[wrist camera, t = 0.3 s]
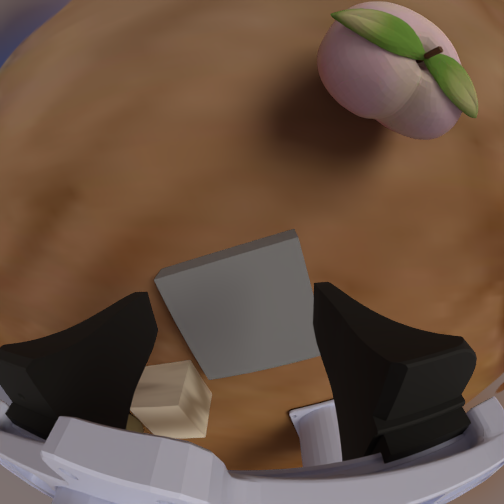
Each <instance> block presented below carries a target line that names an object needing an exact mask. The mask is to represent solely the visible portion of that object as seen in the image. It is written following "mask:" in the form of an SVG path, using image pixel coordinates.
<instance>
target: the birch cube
mask: <svg viewBox="0 0 504 504" xmlns="http://www.w3.org/2000/svg"><path fill="white" fill-rule="evenodd" d="M211 397H212V393H211V392H210V390H209V388H208V387H207V385H206V384H205V382H204V381H203V379H202V378H201V376H200V374H199V373H198V371H197V370H196V368H195V366H194V365H193V363H192V362H191V360H186V361H180V362H173V363H166V364H159V365H152V366H145V369H144V371H143V373H142V375H141V378H140V380H139V382H138V385H137V387H136V390H135V392H134V396H133V400H132V403H131V407H130V410H131V411H132V413H133V414H134V415H135V416H136V417H137V418H138V419H139V420H140V421H141V422H142V423H143V424H144V425H145V426H146V427H147V428H148V429H149V430H150V431H151V432H152V433H153V434H154V435H160V436H166V437H171V438H201V437H205V436H206V430H207V423H208V417H209V410H210V404H211Z"/></svg>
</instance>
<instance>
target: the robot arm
mask: <svg viewBox="0 0 504 504" xmlns="http://www.w3.org/2000/svg"><path fill="white" fill-rule="evenodd" d="M313 328H314V333H315V338H316V343H317V346H318V349H319V352H320V355H321V358H322V361H323V363H324V366H325V369H326V372H327V375H328V378H329V381H330V385H331V388H332V393H333V398H334V399H333V400H330V401H326V402H323V403H319V404H315V405H311V406H307V407H303V408H298V409H294V410H291V411H290V412H289V415H290V417H291V420H292V422H293V424H294V427H295V429H296V431H297V433H298V436H299V438H300V446H301V454H302V463H303V467H301V468H291V469H277V470H248V471H241V470H227V469H226V466H225V464H224V463H223V462H222V461H221V460H220V459H219V458H218V457H216V456H215V455H214V454H213V453H212V452H211V451H210V450H208V449H205V448H203V447H201V446H198V445H196V444H194V443H191V442H189V441H184V440H179V439H175V438H171V437H166V436H160V435H153V434H147V433H140V432H135V431H130V430H126V426H127V421H128V416H129V412H130V407H131V403H132V400H133V396H134V392H135V389H136V387H137V384H138V382H139V379H140V377H141V375H142V372H143V370H144V368H145V366H146V363H147V361H148V359H149V356H150V354H151V352H152V349H153V347H154V343H155V340H156V336H157V332H158V328H157V324H156V321H155V318H154V314H153V311H152V307H151V304H150V300H149V296H148V292H135V293H132V294H130V295H128V296H126V297H124V298H123V299H121V300H119V301H118V302H116V303H114V304H113V305H111V306H109V307H108V308H106V309H104V310H103V311H101V312H99V313H97V314H96V315H94V316H92V317H90V318H89V319H87V320H85V321H83V322H81V323H79V324H77V325H75V326H73V327H70V328H68V329H66V330H63V331H61V332H58V333H55V334H52V335H49V336H46V337H43V338H39V339H36V340H31V341H27V342H21V343H14V344H6V345H3V346H1V347H0V385H1V387H2V388H3V389H4V391H5V392H6V394H7V395H8V396H9V398H10V399H11V400H12V402H13V403H12V404H11V405H10V406H8V405H7V404H6V403H5V402H4V401H2V400H0V464H1V465H2V466H4V467H5V468H6V469H8V470H9V471H10V472H12V473H13V474H15V475H16V476H17V477H19V478H20V479H22V480H23V481H25V482H26V483H28V484H29V485H31V486H33V487H34V488H36V489H37V490H39V491H40V492H42V493H44V494H45V495H47V496H49V497H50V498H52V499H53V501H52V504H446V503H448V502H450V501H451V500H453V499H455V498H457V497H459V496H461V495H462V494H464V493H466V492H467V491H469V490H471V489H472V488H474V487H476V486H477V485H479V484H480V483H482V482H484V481H485V480H486V479H488V478H489V477H490V476H491V475H492V474H494V473H495V472H496V471H497V470H498V469H499V468H500V467H502V466H503V465H504V409H503V408H502V406H501V405H500V403H499V402H498V400H497V399H496V397H491V398H489V399H488V400H486V401H484V402H482V403H480V404H478V405H476V406H474V407H473V408H471V409H470V410H469V411H468V412H467V413H465V411H464V409H463V408H462V406H464V404H465V400H464V398H463V397H462V395H461V394H462V392H463V391H464V389H465V387H466V385H467V383H468V382H469V380H470V378H471V376H472V374H473V371H474V369H475V366H476V360H477V358H476V354H475V352H474V351H473V349H472V348H471V347H470V346H469V345H468V343H467V342H466V341H465V340H464V339H463V337H460V336H452V335H444V334H437V333H432V332H428V331H423V330H419V329H416V328H412V327H409V326H406V325H404V324H401V323H398V322H395V321H393V320H391V319H388V318H386V317H384V316H382V315H380V314H378V313H376V312H374V311H372V310H370V309H369V308H367V307H365V306H363V305H362V304H360V303H359V302H357V301H356V300H354V299H353V298H351V297H350V296H348V295H347V294H345V293H344V292H343V291H341V290H340V289H338V288H337V287H336V286H334V285H333V284H331V283H329V282H321V283H314V305H313Z"/></svg>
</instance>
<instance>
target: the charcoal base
mask: <svg viewBox="0 0 504 504" xmlns="http://www.w3.org/2000/svg"><path fill="white" fill-rule="evenodd" d="M154 281H155V283H156V285H157V287H158V289H159V291H160V294H161V296H162V297H163V299H164V301H165V303H166V305H167V307H168V309H169V311H170V313H171V315H172V317H173V319H174V321H175V322H176V324H177V326H178V328H179V330H180V332H181V333H182V335H183V337H184V339H185V341H186V342H187V344H188V346H189V348H190V349H191V351H192V353H193V355H194V356H195V358H196V360H197V361H198V363H199V365H200V366H201V368H202V370H203V371H204V373H205V375H206V376H207V378H208V379H209V380H212V379H218V378H224V377H229V376H235V375H240V374H245V373H250V372H255V371H260V370H265V369H269V368H274V367H278V366H282V365H286V364H290V363H294V362H298V361H302V360H306V359H309V358H313V357H316V356H320V352H319V349H318V346H317V343H316V338H315V333H314V328H313V305H314V296H313V292H312V288H311V284H310V280H309V276H308V273H307V269H306V265H305V261H304V257H303V254H302V250H301V246H300V242H299V239H298V236H297V234H296V232H295V229H292V230H288V231H285V232H282V233H278V234H275V235H272V236H268V237H265V238H262V239H258V240H255V241H252V242H248V243H245V244H242V245H238V246H235V247H232V248H228V249H225V250H222V251H218V252H215V253H212V254H209V255H205V256H202V257H199V258H195V259H192V260H189V261H186V262H182V263H179V264H176V265H173V266H169V267H166V268H163V269H161V270H160V272H159V273H158V275H157V276H156V277H155V279H154Z"/></svg>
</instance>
